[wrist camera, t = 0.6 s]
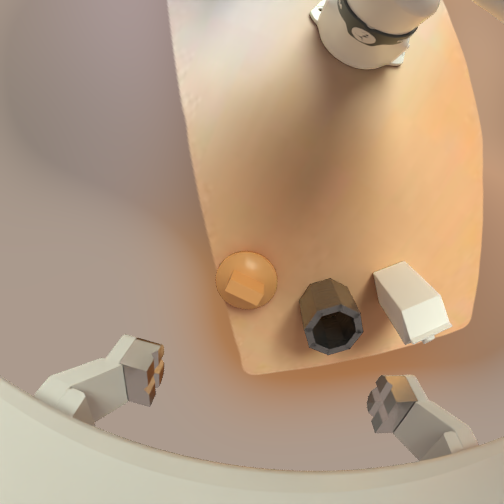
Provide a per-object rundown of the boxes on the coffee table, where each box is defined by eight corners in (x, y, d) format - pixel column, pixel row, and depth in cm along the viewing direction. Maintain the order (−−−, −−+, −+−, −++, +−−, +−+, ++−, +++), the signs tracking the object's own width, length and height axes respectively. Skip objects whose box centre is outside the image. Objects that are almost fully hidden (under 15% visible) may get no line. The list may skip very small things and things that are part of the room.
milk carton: (372, 272, 52) (411, 325, 34) (404, 260, 51) (452, 306, 33) (378, 302, 54) (413, 360, 36) (408, 290, 53) (451, 342, 35)
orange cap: (233, 237, 52) (228, 249, 45) (287, 264, 53) (289, 280, 46) (209, 286, 55) (201, 303, 49) (260, 310, 56) (258, 330, 50)
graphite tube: (317, 271, 53) (326, 296, 44) (358, 292, 54) (373, 319, 44) (291, 311, 56) (294, 341, 47) (331, 329, 57) (340, 360, 48)
